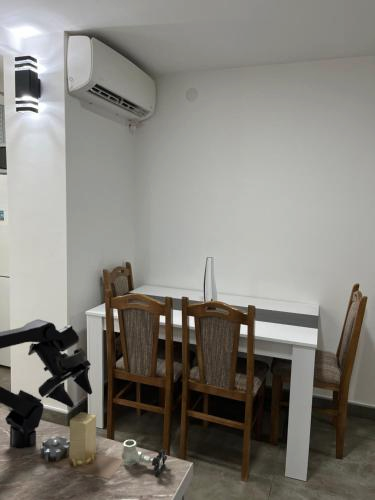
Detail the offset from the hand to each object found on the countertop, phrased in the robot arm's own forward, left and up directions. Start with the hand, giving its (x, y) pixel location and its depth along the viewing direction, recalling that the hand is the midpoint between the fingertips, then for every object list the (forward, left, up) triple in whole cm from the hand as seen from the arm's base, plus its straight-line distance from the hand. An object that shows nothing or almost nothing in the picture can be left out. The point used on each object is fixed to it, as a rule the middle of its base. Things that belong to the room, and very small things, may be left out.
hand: (82, 399), depth 116 cm
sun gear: (-3, -8, -13) cm, 15 cm away
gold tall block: (+5, -8, -12) cm, 16 cm away
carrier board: (+4, -8, -14) cm, 17 cm away
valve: (+22, -5, -14) cm, 26 cm away
